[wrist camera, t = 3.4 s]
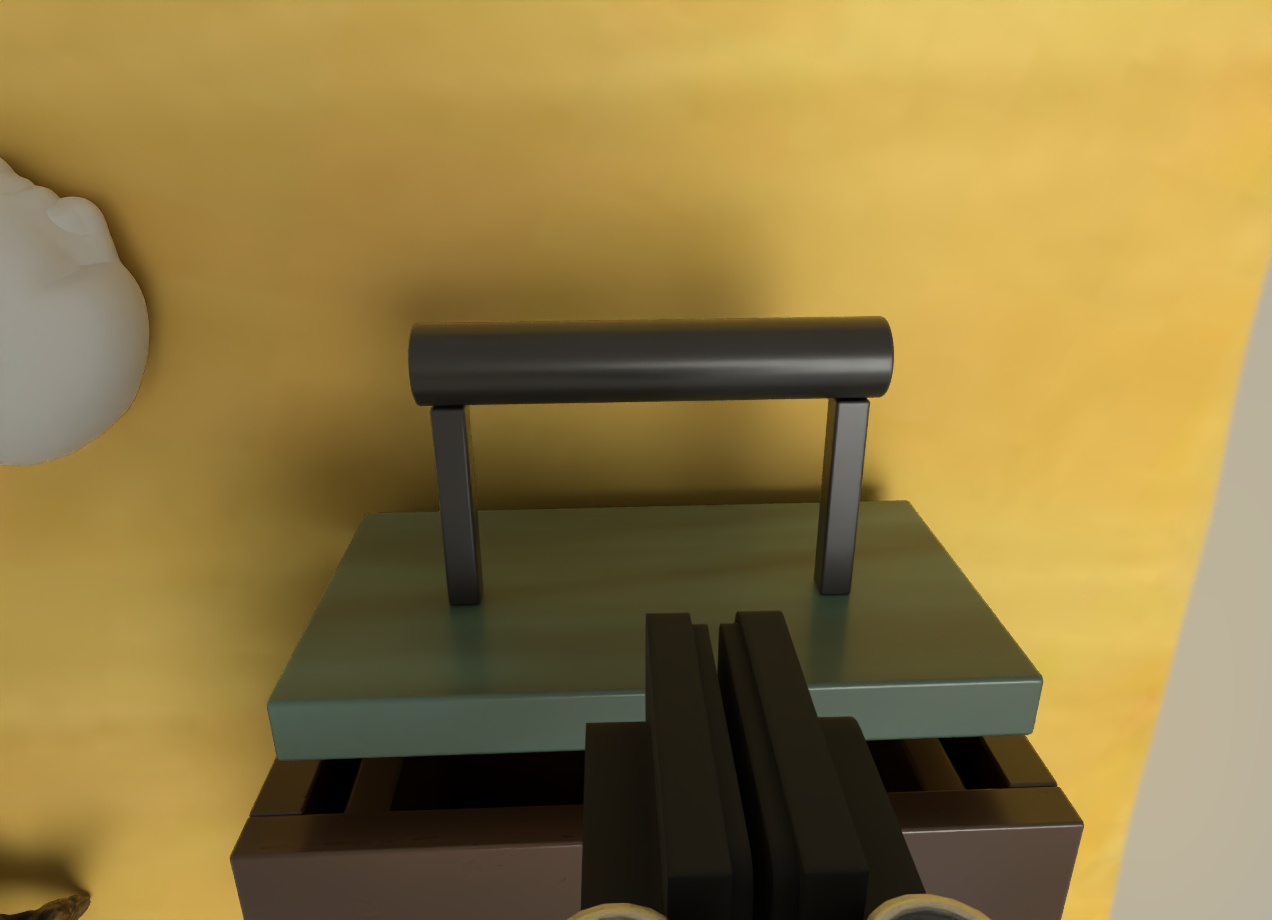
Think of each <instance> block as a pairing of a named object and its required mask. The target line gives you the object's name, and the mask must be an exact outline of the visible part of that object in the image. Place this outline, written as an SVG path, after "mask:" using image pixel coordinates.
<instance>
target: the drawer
mask: <svg viewBox="0 0 1272 920" xmlns="http://www.w3.org/2000/svg"><path fill="white" fill-rule="evenodd" d="M893 364H894V346H893V338H892V333H891V329H890V326H889V324H888V322H887V320H886V319H885V318H884V317H881V316H860V317H793V318H726V319H659V320H591V321H524V322H457V323H416V324H414V325H413V327H412V329H411V332H410V337H409V347H408V367H409V378H410V386H411V391H412V395H413V398H414V400H415V402H416V404H417V405H419V406H432V408H431V411H430V416H431V426H432V437H433V447H434V457H435V467H436V478H437V488H438V498H439V509H440V511H439V512H397V513H367V514H365V515H364V517H363V519H362V521H361V523H360V525H359V527H358V529H357V531H356V533H355V534H354V536H353V538H352V540H351V542H350V544H349V546H348V548H347V550H346V552H345V554H344V556H343V558H342V559H341V561H340V563H339V565H338V567H337V569H336V571H335V573H334V575H333V577H332V579H331V581H330V582H329V584H328V586H327V588H326V590H325V592H324V594H323V596H322V598H321V600H320V602H319V604H318V606H317V607H316V609H315V611H314V613H313V615H312V617H311V619H310V621H309V623H308V625H307V627H306V629H305V631H304V632H303V634H302V636H301V638H300V640H299V642H298V644H297V646H296V648H295V650H294V652H293V654H292V656H291V657H290V659H289V661H288V663H287V665H286V667H285V669H284V671H283V673H282V675H281V677H280V679H279V680H278V682H277V684H276V686H275V688H274V690H273V692H272V694H271V696H270V698H269V700H268V702H267V710H268V715H269V720H270V725H271V730H272V735H273V740H274V745H275V750H276V755H277V758H278V760H280V761H297V760H325V759H354V758H362V760H361V763H360V766H359V769H358V772H357V775H356V778H355V781H354V784H353V787H352V790H351V793H350V796H349V799H348V802H347V805H346V808H345V811H344V813H360V812H387V811H413V810H440V809H466V808H493V807H519V806H546V805H572V804H584V771H585V735H586V723H599V722H639V721H645V621H646V613H684V612H689V613H690V616H691V622H692V624H707V625H708V629H709V634H710V640H711V645H712V650H713V655H714V661H715V666H716V671H717V665H718V639H719V626H720V624H721V623H734V622H735V615H736V612H737V611H779V610H780V611H782V613H783V615H784V618H785V621H786V624H787V627H788V630H789V633H790V636H791V639H792V642H793V645H794V648H795V651H796V654H797V657H798V660H799V663H800V666H801V668H802V671H803V674H804V677H805V680H806V683H807V686H808V689H809V692H810V695H811V698H812V701H813V704H814V707H815V710H816V713H817V716H818V717H843V716H852V717H853V718H855V719H856V720H857V722H858V724H859V726H860V728H861V730H862V732H863V735H864V737H865V740H866V742H867V745H868V748H869V750H870V753H871V755H872V758H873V760H874V763H875V765H876V768H877V770H878V773H879V775H880V778H881V780H882V783H883V785H884V788H885V790H886V793H890V792H917V791H943V790H966V788H965V786H964V785H963V783H962V781H961V779H960V777H959V775H958V773H957V771H956V770H955V768H954V766H953V764H952V762H951V760H950V758H949V756H948V755H947V753H946V751H945V749H944V747H943V745H942V743H941V741H940V740H939V738H950V737H979V736H1007V735H1029V734H1031V733H1032V732H1033V729H1034V724H1035V719H1036V714H1037V709H1038V705H1039V700H1040V695H1041V690H1042V685H1043V678H1042V675H1041V674H1040V673H1039V671H1038V670H1037V669H1036V668H1035V666H1034V665H1033V664H1032V662H1031V661H1030V660H1029V658H1028V657H1027V656H1026V654H1025V653H1024V652H1023V651H1022V649H1021V648H1020V647H1019V645H1018V644H1017V643H1016V641H1015V640H1014V639H1013V637H1012V636H1011V635H1010V633H1009V632H1008V631H1007V630H1006V628H1005V627H1004V626H1003V624H1002V623H1001V622H1000V620H999V619H998V618H997V616H996V615H995V614H994V613H993V611H992V610H991V609H990V607H989V606H988V605H987V603H986V602H985V601H984V599H983V598H982V597H981V595H980V594H979V593H978V592H977V590H976V589H975V588H974V586H973V585H972V584H971V582H970V581H969V580H968V578H967V577H966V576H965V575H964V573H963V572H962V571H961V569H960V568H959V567H958V565H957V564H956V563H955V561H954V560H953V559H952V557H951V556H950V555H949V554H948V552H947V551H946V550H945V548H944V547H943V546H942V544H941V543H940V542H939V540H938V539H937V538H936V537H935V535H934V534H933V533H932V531H931V530H930V529H929V527H928V526H927V525H926V523H925V522H924V521H923V519H922V518H921V517H920V516H919V514H918V513H917V512H916V510H915V509H914V508H913V506H912V505H911V504H910V502H909V501H905V500H902V501H860V496H861V486H862V476H863V466H864V456H865V447H866V437H867V427H868V417H869V408H870V402H869V400H868V399H867V398H874V397H882V396H883V395H885V393H886V392H887V390H888V388H889V385H890V382H891V378H892V373H893ZM821 398H829V401H828V413H827V425H826V437H825V449H824V461H823V473H822V485H821V497H820V502H818V503H776V504H734V505H692V506H650V507H607V508H565V509H523V510H481V511H477V500H476V487H475V474H474V462H473V449H472V436H471V424H470V411H469V405H501V404H554V403H608V402H661V401H714V400H768V399H821Z"/></svg>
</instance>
